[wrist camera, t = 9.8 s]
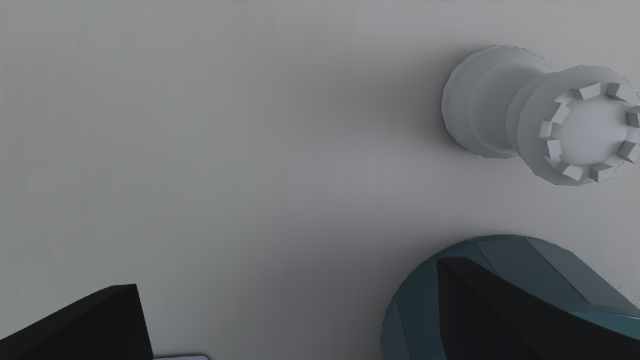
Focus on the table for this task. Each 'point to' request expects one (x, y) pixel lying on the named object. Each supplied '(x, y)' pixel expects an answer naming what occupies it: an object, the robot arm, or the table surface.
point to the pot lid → (600, 319)
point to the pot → (503, 260)
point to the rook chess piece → (543, 114)
